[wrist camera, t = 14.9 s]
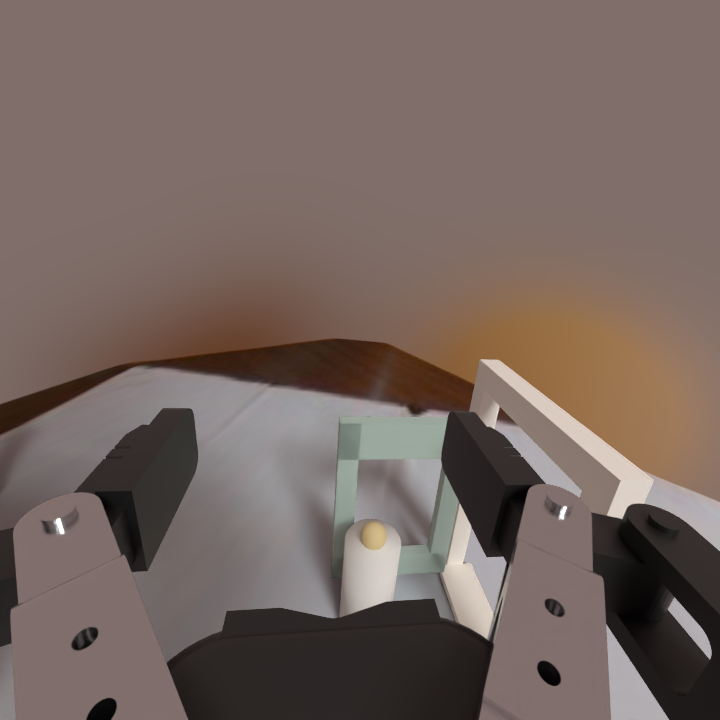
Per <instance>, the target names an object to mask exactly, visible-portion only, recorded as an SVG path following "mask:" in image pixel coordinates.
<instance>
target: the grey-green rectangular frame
mask: <svg viewBox="0 0 720 720" xmlns="http://www.w3.org/2000/svg"><path fill="white" fill-rule="evenodd" d="M447 419H448V417H339V433H338V452H337V470H336V488H335V506H334V525H333V543H332V561H331V578H341V577H342V573H343V560H344V546H345V536H346V533H347V531H348V529H349V528H350V527H351V526H352V525H353V524H354V513H355V501H356V488H357V476H358V463H359V460H368V459H441V452H442V446H443V441H444V435H445V430H446V424H447ZM458 502H459V501H458V499H457V497H456V495H455V493H454V491H453V489H452V487H451V485H450V483H449V481H448V479H447V477H446V475H445V473H444V470H443V467H442V468H441V474H440V479H439V485H438V490H437V496H436V501H435V507H434V512H433V518H432V523H431V529H430V534H429V540H428V545H412V546H401V550H400V557H399V564H398V571H397V575H399V574H418V573H438V572H444V569H445V564H446V559H447V554H448V550H449V545H450V540H451V535H452V530H453V526H454V521H455V516H456V511H457V507H458Z"/></svg>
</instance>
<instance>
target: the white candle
mask: <svg viewBox="0 0 720 720" xmlns="http://www.w3.org/2000/svg"><path fill="white" fill-rule="evenodd" d="M400 550H401V539H400V537H399V535H398V533H397V531H396V530H395V529H394V528H393V527H392V526H390V525H389V524H387V523H386V522H383V521H380V520H376V519H365V520H361V521H358V522H356V523H354V524H353V525H352V526H351V527H350V528H349V529H348V531H347V533H346V536H345V546H344V560H343V573H342V587H341V600H340V614H339V618H340V617H343V616H346V615H349V614H352V613H355V612H357V611H360V610H363V609H366V608H369V607H372V606H375V605H378V604H381V603H384V602H388V601H393V598H394V591H395V584H396V577H397V571H398V564H399V557H400Z"/></svg>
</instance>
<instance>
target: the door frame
mask: <svg viewBox="0 0 720 720" xmlns="http://www.w3.org/2000/svg"><path fill="white" fill-rule="evenodd" d="M499 406H500V407H501V408H502V409H503V410H504V411H505V412H506V413H507V414H508V415H509V416H510V417H511V418H512V419H513V420H514V421H515V422H516V423H517V424H518V425H519V426H520V427H521V429H522V430H523V431H524V432H525V433H526V434H527V435H528V436H529V437H530V438H531V439H532V440H533V441H534V442H535V443H536V444H537V445H538V446H539V447H540V448H541V449H542V450H543V451H544V452H545V453H546V454H547V455H548V456H549V457H550V458H551V459H552V460H553V461H554V462H555V463H556V464H557V465H558V466H559V467H560V468H561V469H562V470H563V472H564V473H565V474H566V475H567V476H568V477H569V478H570V479H571V480H572V481H573V482H574V483H575V484H576V485H577V486H578V487H579V488H580V489H581V490H582V493H581V496H580V499H581V500H582V501H583V502H584V503H585V504H586V505H587V506H588V508H589V509H590V511H591V512H592V513H597V514H602V515H606V516H611V517H616V518H620V519H622V518H623V516H624V513H625V511H626V509H627V507H628V506H629V505H631V504H638V503H640V504H644V502H645V500H646V497H647V495H648V493H649V490H650V488H651V486H652V484H653V481H654V480H653V479H652V478H651V477H649V476H648V475H647V474H645V473H644V472H643V471H642V470H640V469H639V468H638V467H636V466H635V465H634V464H633V463H631V462H630V461H629V460H627V459H626V458H625V457H623V456H622V455H621V454H620V453H618V452H617V451H616V450H614V449H613V448H612V447H610V446H609V445H608V444H607V443H605V442H604V441H603V440H602V439H600V438H599V437H598V436H596V435H595V434H594V433H592V432H591V431H590V430H589V429H587V428H586V427H585V426H583V425H582V424H581V423H579V422H578V421H577V420H576V419H574V418H573V417H572V416H570V415H569V414H568V413H567V412H565V411H564V410H563V409H561V408H560V407H559V406H557V405H556V404H555V403H554V402H552V401H551V400H550V399H548V398H547V397H546V396H545V395H543V394H542V393H541V392H539V391H538V390H537V389H535V388H534V387H533V386H532V385H530V384H529V383H528V382H527V381H525V380H524V379H523V378H521V377H520V376H519V375H517V374H516V373H515V372H514V371H512V370H511V369H510V368H508V367H507V366H506V365H504V364H503V363H502V362H500V361H499V360H480V362H479V367H478V371H477V376H476V381H475V386H474V391H473V396H472V401H471V406H470V411H469V412H475V413H476V414H477V415H478V416H479V417H480V419H481V420H482V421H483V422H484V424H485V425H486V426H487V427H492V428H493V429H494V428H495V424H496V419H497V415H498V411H499ZM470 531H471V525H470V523H469V521H468V519H467V517H466V515H465V513H464V511H463V509H462V507H461V505H460V503H459V502H458V507H457V511H456V516H455V521H454V526H453V530H452V535H451V540H450V545H449V550H448V554H447V559H446V564H445V569H444V572H439V574H440V577H441V580H442V583H443V586H444V589H445V592H446V595H447V597H448V600H449V603H450V606H451V609H452V612H453V615H454V618H455V621H456V622H458V623H460V624H462V625H464V626H466V627H468V628H470V629H472V630H474V631H475V632H477V633H479V634H480V635H482V636H483V637H485V638H486V639H487V638H488V634H489V630H490V626H491V622H492V618H493V612H492V610H491V608H490V605H489V603H488V601H487V599H486V596H485V594H484V592H483V590H482V587H481V585H480V583H479V581H478V578H477V576H476V574H475V572H474V569H473V567H472V565H471V563H465V564H463V561H464V557H465V552H466V548H467V544H468V539H469V535H470Z"/></svg>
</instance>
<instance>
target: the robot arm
mask: <svg viewBox="0 0 720 720" xmlns="http://www.w3.org/2000/svg"><path fill="white" fill-rule="evenodd" d="M441 461H442V467H443V470H444V473H445V475H446V477H447V479H448V481H449V483H450V485H451V487H452V489H453V491H454V493H455V495H456V497H457V499H458V501H459V503H460V505H461V507H462V509H463V511H464V513H465V515H466V517H467V519H468V521H469V523H470V525H471V527H472V529H473V531H474V533H475V535H476V537H477V539H478V541H479V543H480V545H481V547H482V549H483V551H484V553H485V555H486V557H501V556H503V557H504V558H505V560H506V562H507V563H506V567H505V570H504V574H503V578H502V582H501V586H500V590H499V594H498V598H497V602H496V606H495V610H494V614H493V618H492V622H491V626H490V630H489V634H488V638H487V639H486V638H485V637H483V636H482V635H480V634H479V633H477V632H475V631H474V630H472V629H470V628H468V627H466V626H464V625H462V624H460V623H458V622H455V621H452V620H449V619H446V618H441V617H440V616H439V613H438V609H437V606H436V603H435V600H434V599H422V600H405V601H388V602H384V603H381V604H378V605H375V606H372V607H369V608H366V609H363V610H360V611H357V612H355V613H352V614H349V615H346V616H343V617H340V618H326V617H322V616H317V615H312V614H307V613H303V612H298V611H293V610H288V609H283V608H271V609H254V610H237V611H227V613H226V617H225V621H224V625H223V630H222V631H221V632H218V633H215V634H212V635H210V636H208V637H206V638H204V639H202V640H199V641H198V642H196V643H194V644H193V645H191V646H189V647H187V648H186V649H184V650H183V651H181V652H180V653H179V654H177V655H176V656H174V657H173V658H172V659H170V660H169V661H168V662H167V663H166V661H165V658H164V656H163V653H162V650H161V648H160V645H159V643H158V640H157V637H156V635H155V632H154V629H153V627H152V624H151V622H150V619H149V616H148V614H147V611H146V609H145V606H144V603H143V601H142V598H141V596H140V593H139V590H138V588H137V585H136V582H135V580H134V577H133V575H132V572H137V571H148V569H149V567H150V565H151V563H152V561H153V559H154V557H155V554H156V552H157V550H158V548H159V546H160V544H161V542H162V540H163V538H164V536H165V534H166V532H167V530H168V528H169V526H170V523H171V521H172V519H173V517H174V515H175V513H176V511H177V509H178V507H179V505H180V503H181V501H182V499H183V497H184V495H185V493H186V490H187V488H188V486H189V484H190V482H191V480H192V478H193V476H194V474H195V471H196V467H197V462H198V449H197V440H196V431H195V421H194V414H193V411H192V409H190V408H163V409H162V410H161V411H160V412H159V413H158V415H157V416H156V417H155V418H154V419H153V421H152V422H151V423H150V424H149V425H141V426H139V427H138V428H136V429H134V430H133V431H131V432H129V433H128V434H126V435H125V436H124V437H123V438H122V439H121V440H120V441H119V443H118V444H117V445H116V446H115V449H112V450H111V452H110V453H109V454H108V455H107V456H106V459H103V460H102V462H101V463H100V464H99V465H98V466H97V467H96V468H95V469H94V471H93V472H92V473H91V474H90V475H89V476H88V477H87V478H86V480H85V481H84V482H83V483H82V484H81V485H80V486H79V487H78V489H77V490H76V491H75V492H74V493H70V494H66V495H62V496H59V497H55V498H53V499H50V500H48V501H46V502H44V503H42V504H40V505H38V506H36V507H35V508H33V509H32V510H30V511H29V512H28V513H26V514H25V515H24V516H23V517H22V518H21V519H20V520H19V521H18V523H17V524H16V526H15V527H14V528H11V529H6V530H2V531H0V647H1V646H4V645H7V644H10V643H12V657H13V676H14V694H15V712H16V720H611V711H610V691H609V672H608V652H607V633H606V624H607V626H608V627H609V629H610V630H611V632H612V633H613V635H614V636H615V638H616V639H617V641H618V642H619V644H620V645H621V647H622V648H623V650H624V651H625V653H626V654H627V656H628V657H629V659H630V661H631V662H632V664H633V665H634V667H635V668H636V670H637V671H638V673H639V674H640V676H641V677H642V679H643V680H644V682H645V683H646V685H647V686H648V688H649V689H650V691H651V692H652V694H653V696H654V697H655V699H656V700H657V702H658V703H659V705H660V706H661V708H662V709H663V711H664V712H665V714H666V715H667V717H668V718H669V720H720V551H719V550H717V549H716V548H715V547H714V546H713V545H712V544H711V543H709V542H708V541H707V540H706V539H705V538H704V537H703V536H701V535H700V534H699V533H698V532H697V531H696V530H695V529H693V528H692V527H691V526H690V525H689V524H687V523H686V522H685V521H683V520H682V519H680V518H679V517H677V516H675V515H674V514H672V513H670V512H668V511H666V510H663V509H661V508H658V507H655V506H652V505H647V504H640V503H638V504H631V505H629V506H628V507H627V509H626V511H625V513H624V516H623V518H622V519H620V518H616V517H611V516H606V515H602V514H597V513H592V512H591V511H590V509H589V508H588V506H587V505H586V504H585V503H584V502H583V501H582V500H581V499H580V498H579V497H577V496H576V495H574V494H573V493H571V492H569V491H567V490H565V489H563V488H560V487H557V486H554V485H549V484H545V482H544V481H543V480H542V479H541V478H540V477H539V475H538V474H537V473H536V472H535V471H534V470H533V468H532V467H531V466H530V465H529V464H528V463H527V461H526V460H525V459H524V458H523V457H521V454H520V453H519V452H518V451H517V450H516V449H515V448H513V445H512V444H511V443H510V442H509V441H508V439H507V438H506V437H505V436H504V435H502V434H501V433H499V432H498V431H496V430H495V429H493V428H492V427H487V426H486V425H485V424H484V422H483V421H482V420H481V419H480V417H479V416H478V415H477V414H476V413H475V412H455V411H452V412H450V413H449V415H448V419H447V424H446V430H445V435H444V441H443V446H442V452H441ZM674 597H675V598H676V599H677V600H678V601H679V603H680V604H681V605H682V606H683V607H684V608H685V609H686V610H687V612H688V613H689V614H690V615H691V616H692V617H693V618H694V620H695V621H696V622H697V623H698V624H699V625H700V626H701V628H702V629H703V630H704V632H705V633H706V635H707V637H708V639H709V642H710V645H711V650H712V656H711V659H710V660H709V658H708V657H707V656H706V655H705V654H704V652H703V651H702V650H701V649H700V648H699V647H698V645H697V644H696V643H695V642H694V641H693V639H692V638H691V637H690V636H689V635H688V633H687V632H686V631H685V630H684V629H683V627H682V626H681V625H680V624H679V623H678V621H677V620H676V619H675V618H674V617H673V616H672V614H671V613H670V612H669V611H668V610H667V609H668V607H669V606H670V604H671V602H672V600H673V598H674Z"/></svg>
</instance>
